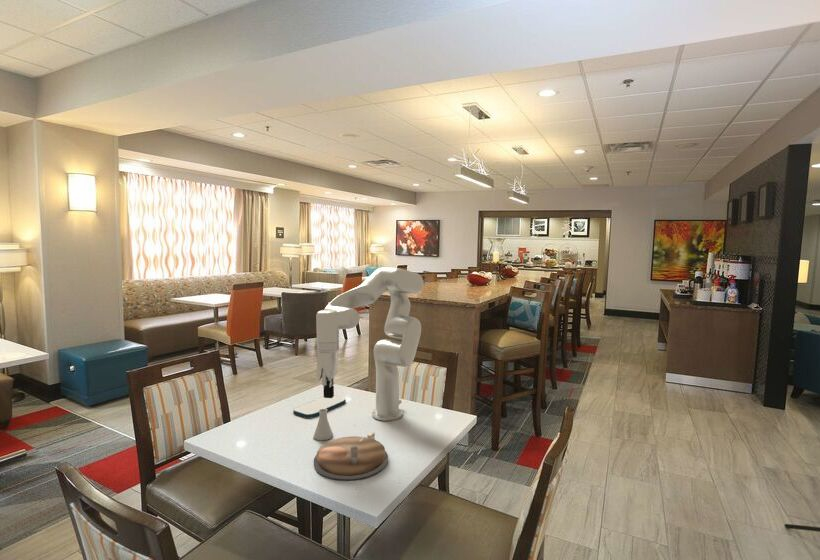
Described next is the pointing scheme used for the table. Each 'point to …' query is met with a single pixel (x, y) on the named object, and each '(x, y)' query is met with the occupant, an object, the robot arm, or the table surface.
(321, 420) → the flask
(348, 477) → the base
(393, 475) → the table surface
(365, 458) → the turntable
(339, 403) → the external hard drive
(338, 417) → the table surface
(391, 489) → the table surface
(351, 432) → the table surface
